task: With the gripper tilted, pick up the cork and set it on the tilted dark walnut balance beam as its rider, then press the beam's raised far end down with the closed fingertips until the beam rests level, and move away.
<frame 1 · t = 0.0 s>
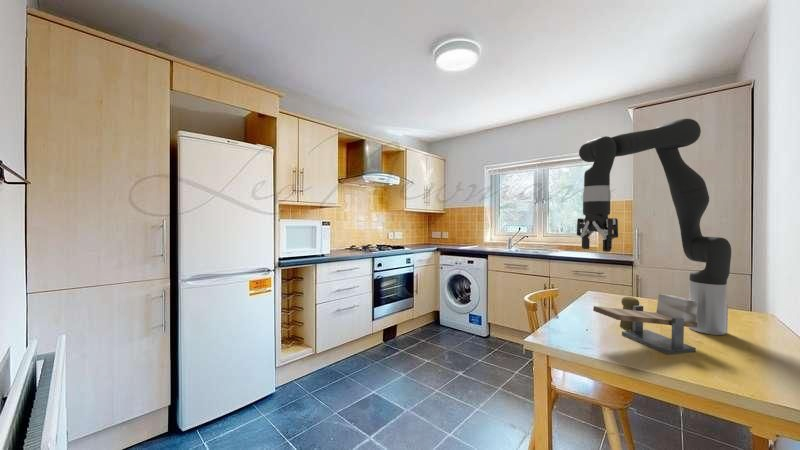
hand: (595, 250, 99), 29 cm above the table, fingers open, 8 cm apart
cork: (629, 328, 110), on the table
balance beam: (645, 306, 96), point 12 cm above the table, hinge at -8.0°
beam stand: (656, 342, 97), on the table
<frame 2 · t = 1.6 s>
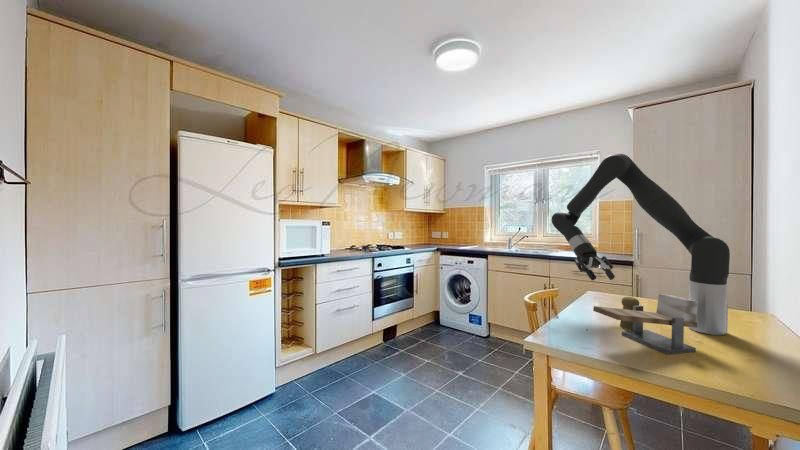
hand: (603, 279, 121), 15 cm above the table, fingers open, 8 cm apart
nothing on the table moved.
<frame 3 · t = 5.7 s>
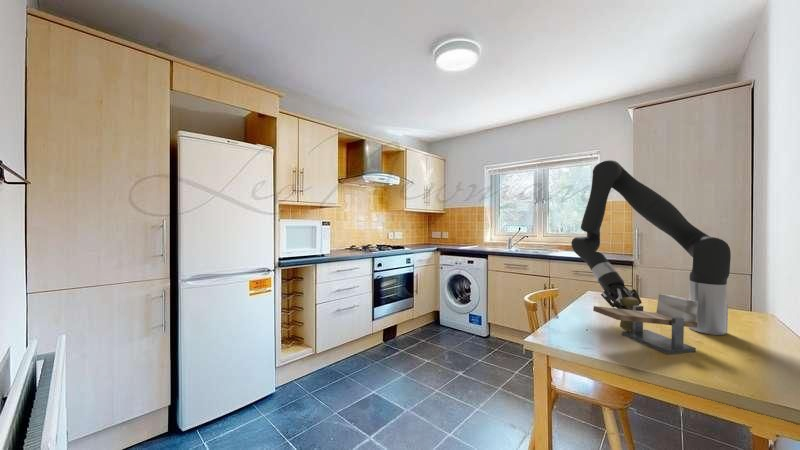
hand: (634, 316, 108), 5 cm above the table, fingers closed on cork, 4 cm apart
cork: (629, 328, 110), on the table, touching gripper
everything else where it was.
when the fingers open (15 cm above the table, at t = 9.6 s): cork stays where it is, resting on balance beam.
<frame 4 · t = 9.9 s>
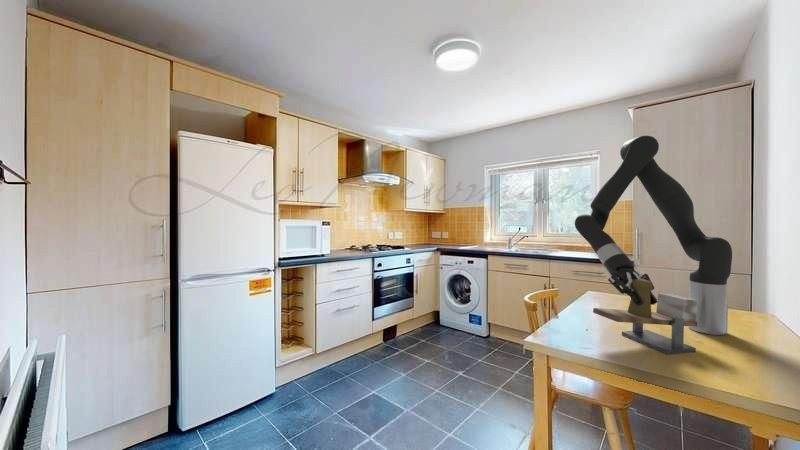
hand: (647, 303, 93), 13 cm above the table, fingers open, 4 cm apart
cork: (639, 314, 96), point 9 cm above the table, touching balance beam, gripper
balance beam: (645, 306, 96), point 12 cm above the table, hinge at -6.2°, touching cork
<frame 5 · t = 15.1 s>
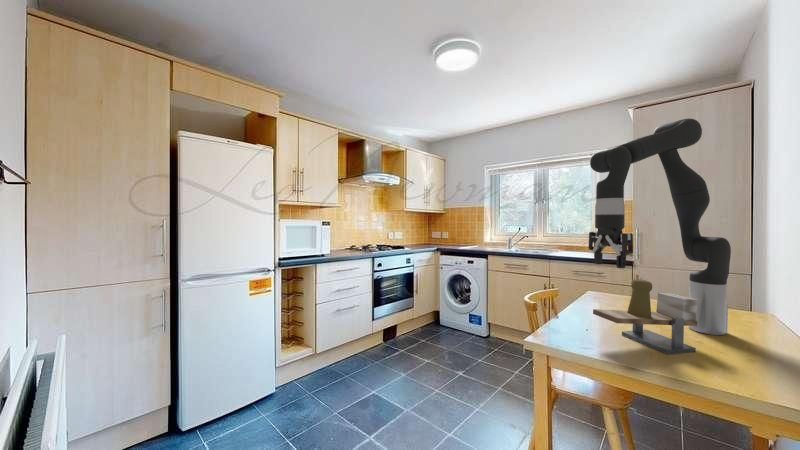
hand: (609, 266, 94), 25 cm above the table, fingers open, 8 cm apart
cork: (639, 315, 96), point 9 cm above the table, touching balance beam
balance beam: (644, 307, 96), point 12 cm above the table, hinge at -4.9°, touching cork
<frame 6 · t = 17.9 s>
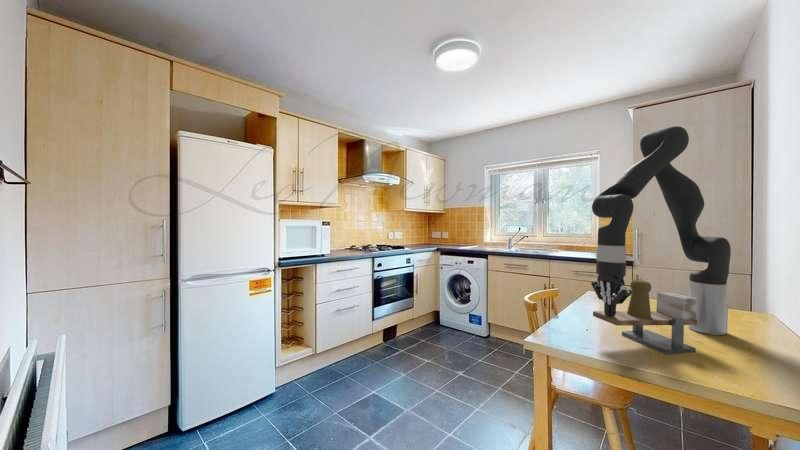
hand: (609, 315, 94), 10 cm above the table, fingers closed
balance beam: (644, 307, 96), point 11 cm above the table, hinge at -2.9°, touching gripper, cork
everything else where it was.
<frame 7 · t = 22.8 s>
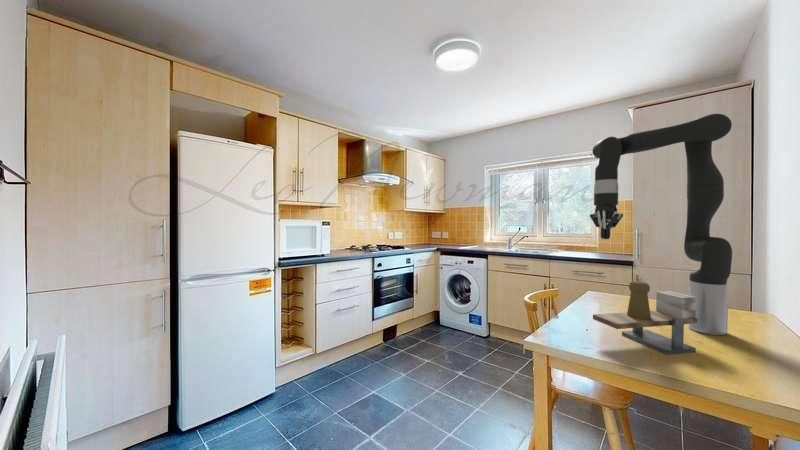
hand: (605, 238, 113), 32 cm above the table, fingers closed
balance beam: (644, 308, 96), point 11 cm above the table, hinge at 0.2°, touching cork
everything else where it was.
at the end: balance beam at +0° (first picture: -8°); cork touching balance beam; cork tilted 0° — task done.
